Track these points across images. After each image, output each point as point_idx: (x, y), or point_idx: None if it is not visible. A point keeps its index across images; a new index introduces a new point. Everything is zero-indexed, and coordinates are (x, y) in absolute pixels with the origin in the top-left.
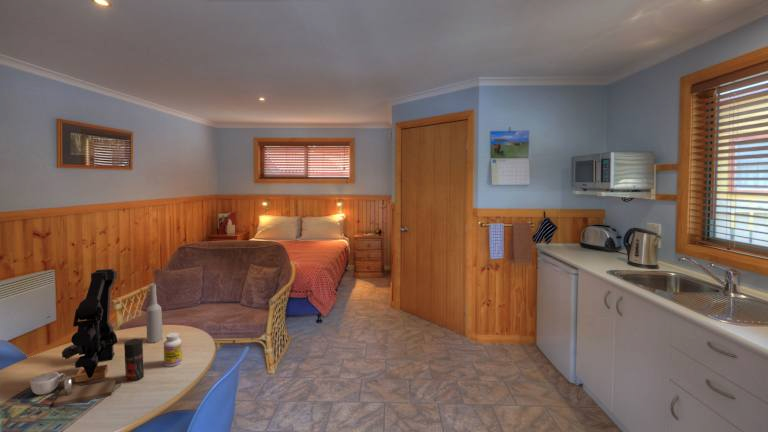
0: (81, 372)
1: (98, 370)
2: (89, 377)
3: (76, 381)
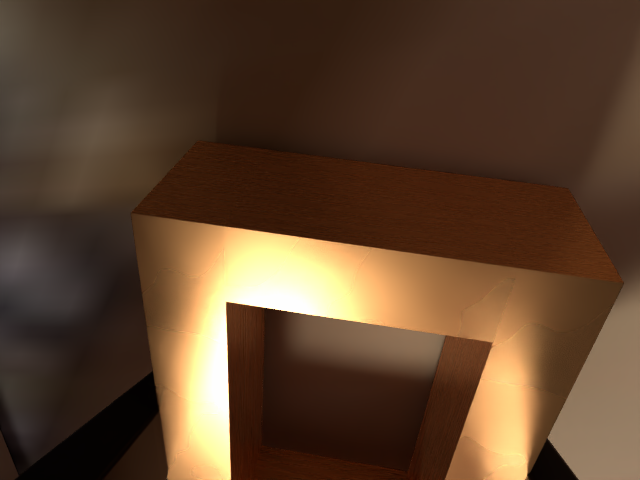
0: (356, 311)
1: (419, 473)
2: None
3: (192, 161)
